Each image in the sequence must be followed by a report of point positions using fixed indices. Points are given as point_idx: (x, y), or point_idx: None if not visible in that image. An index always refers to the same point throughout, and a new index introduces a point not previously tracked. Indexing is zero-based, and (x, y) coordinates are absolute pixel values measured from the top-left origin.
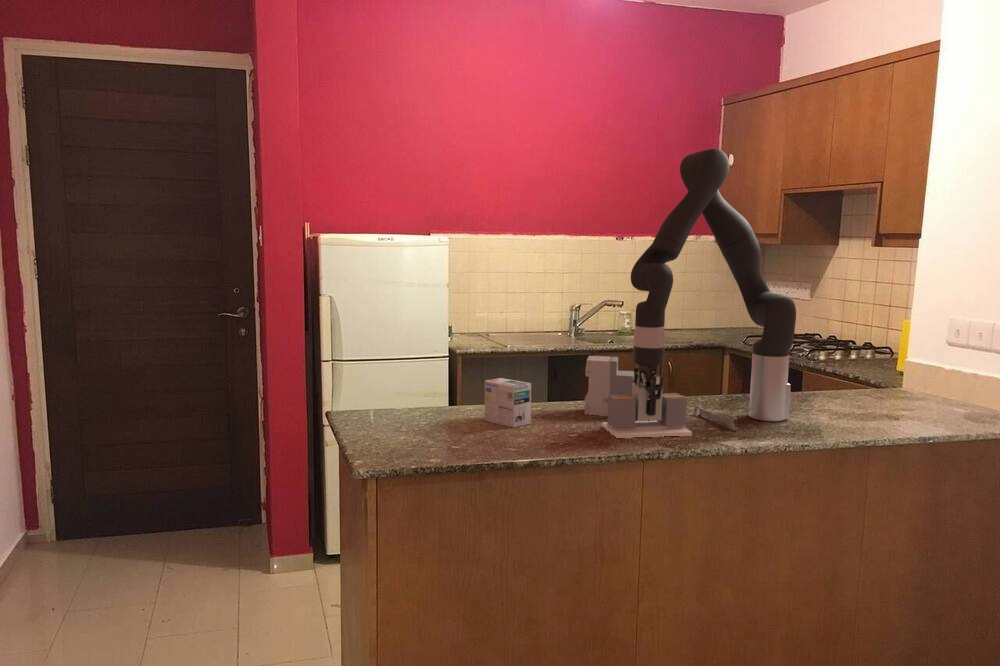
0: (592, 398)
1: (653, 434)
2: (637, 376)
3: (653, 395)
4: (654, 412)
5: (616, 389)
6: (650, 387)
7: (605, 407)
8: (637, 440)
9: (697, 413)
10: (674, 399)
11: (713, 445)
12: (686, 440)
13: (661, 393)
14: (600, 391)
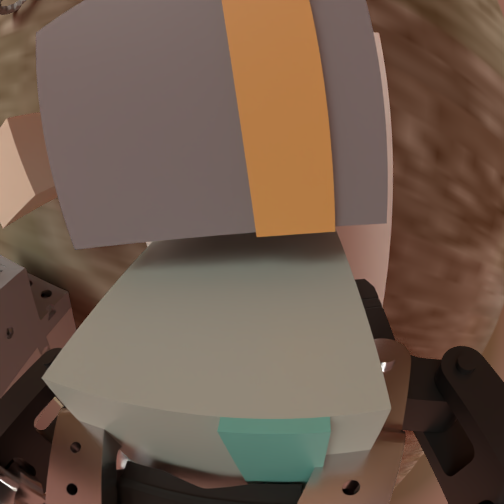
0: None
1: (387, 242)
2: (44, 476)
3: (456, 418)
4: (369, 286)
5: (9, 355)
6: (447, 493)
7: (57, 334)
8: (404, 305)
9: (16, 3)
10: (376, 102)
11: (497, 41)
12: (443, 102)
13: (368, 341)
14: None
